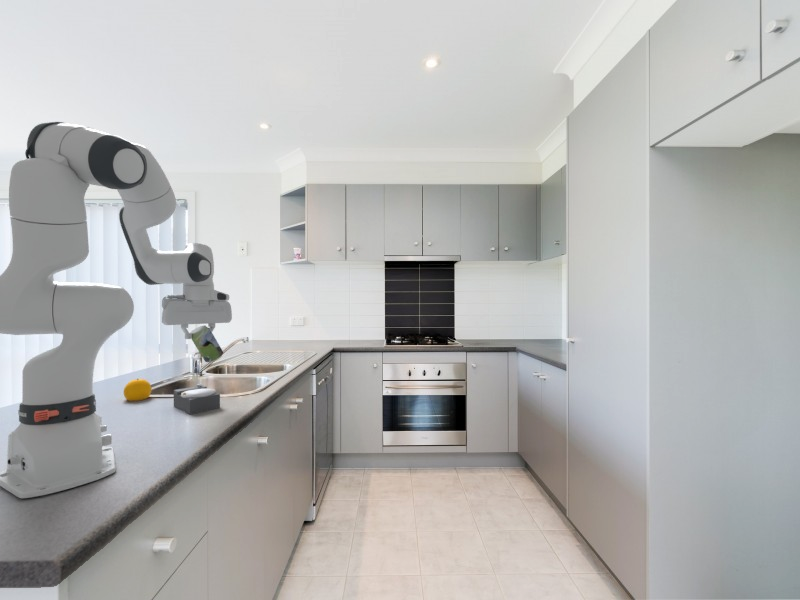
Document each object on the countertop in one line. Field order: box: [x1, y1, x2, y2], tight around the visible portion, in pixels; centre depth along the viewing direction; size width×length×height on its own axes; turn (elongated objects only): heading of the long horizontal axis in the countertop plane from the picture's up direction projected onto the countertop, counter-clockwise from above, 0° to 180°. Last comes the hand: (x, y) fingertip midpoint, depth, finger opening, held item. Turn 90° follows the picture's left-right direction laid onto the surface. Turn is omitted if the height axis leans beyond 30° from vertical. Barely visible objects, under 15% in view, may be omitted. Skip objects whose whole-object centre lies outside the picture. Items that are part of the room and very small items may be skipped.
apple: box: [123, 378, 152, 402], centre depth 130 cm, size 8×8×8 cm
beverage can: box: [189, 324, 224, 363], centre depth 121 cm, size 6×7×12 cm
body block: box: [173, 383, 221, 415], centre depth 120 cm, size 13×10×6 cm
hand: (198, 338), depth 119 cm, fingers closed on beverage can, 5 cm apart
